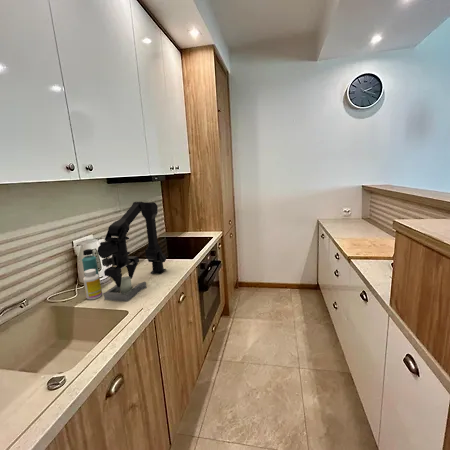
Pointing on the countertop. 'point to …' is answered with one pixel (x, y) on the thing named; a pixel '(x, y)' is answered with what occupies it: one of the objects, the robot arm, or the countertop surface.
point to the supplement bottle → (92, 284)
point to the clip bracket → (113, 294)
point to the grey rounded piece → (125, 284)
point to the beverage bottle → (89, 261)
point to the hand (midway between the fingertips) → (125, 282)
